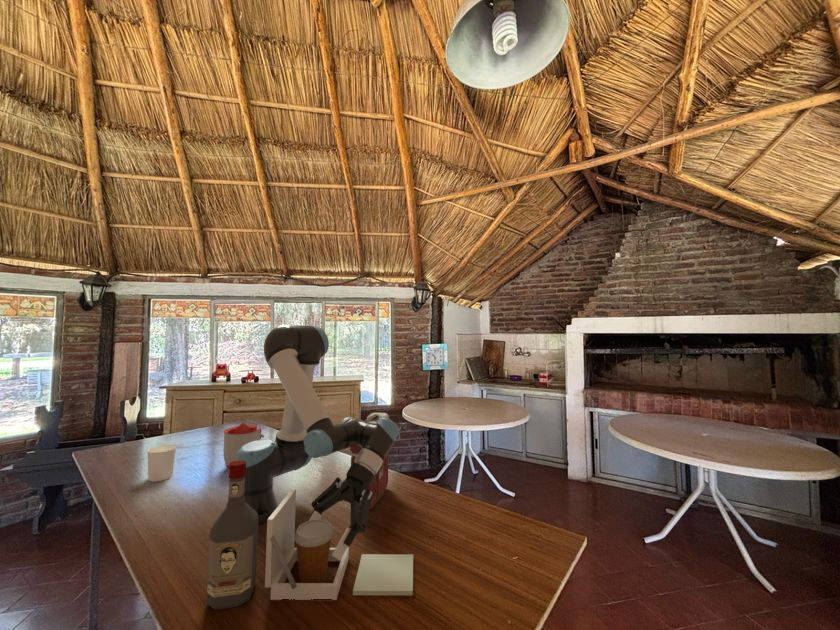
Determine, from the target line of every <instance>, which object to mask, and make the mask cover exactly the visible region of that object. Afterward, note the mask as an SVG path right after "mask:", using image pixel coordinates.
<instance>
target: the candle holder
mask: <svg viewBox="0 0 840 630" xmlns="http://www.w3.org/2000/svg"><path fill="white" fill-rule="evenodd" d="M176 451H177V446H176V445H160V446H155V447H151V448H149V449H148V450H147V481H148V482H151V481H152V482H154V483H155V482H163V481H166V480H168V479H171V478H172V477H173V474H174V467H175V466H174V465H175V456H176Z"/></svg>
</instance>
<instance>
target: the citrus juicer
mask: <svg viewBox="0 0 840 630" xmlns="http://www.w3.org/2000/svg"><path fill="white" fill-rule="evenodd" d="M262 438H265V435H264V434H262V428H261V427H260V428H258V429H257V425H253V424H251V425H250V424H248V425H247V424H246V423H245V422H242V423H240V424H239V425H238V426H231V427H229V428H226V429H224V430H223V460H224V464H225V467H226V469H227V470H228V471H229V463H231V462H233V461H236V457H237V452H238V450H239V449H240V448H241V447H242V446H243V445H245V444H247V443H250V442H253V441H257V440H262Z"/></svg>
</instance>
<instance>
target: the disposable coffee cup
mask: <svg viewBox="0 0 840 630" xmlns="http://www.w3.org/2000/svg"><path fill="white" fill-rule="evenodd" d="M334 532H335V531H334V528H333V525H332V523H331V522H330V521H329V520H326V519H320V520H319V519H317V520H311V521H305V522H303V523H301V524H299V525H298V527H297V528H296V529H295V535H294V542H295V545H296V547H297V556H298V561H297V565H298V566H297V567H298V574H299V575H298V576H299V583H324V582H323V581H324V580H326V577H327V571H328V564H329V561H328V558H329V551H330V548H331V543H332V542H331V541H332V538H333V535H334Z"/></svg>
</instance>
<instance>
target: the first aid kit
mask: <svg viewBox="0 0 840 630" xmlns="http://www.w3.org/2000/svg"><path fill="white" fill-rule="evenodd" d="M380 418H388V419H390V416H389V414H388V413H386V412H372V413H370V414H369V415H367V417H366V419H365V420H364V421H367V422H370V423H374V424H377V422H378V421H379V419H380ZM349 448H350V450H349V451H350V453H352V454H351V458H350V466H351V465H352V464H353V463H355V462H354V460H355V458H356V457H357V455H358V453H359V452H360V450H361V449H362V447H361V446H359V445H355V446H352V447H349ZM389 452H390V451H389ZM389 452H388V454H387V455H386V457H385V460H384V461H383V463H382V465H381V467H380V469H379V470H378V472H377V474H375V475H374V477H375V478H374V480H373V482H372V483H371V485H370V487H369V488H368V489H369V490H370V491H371V492H372V493H373V494H374V495H373V498H372V500H371V503H370V509H369V510H371V509H373V507H374V506H375V505H376V503H378V502H379V500H380V499H381V498H382V497H383V495H384V492H385V491H386V489H387V487H388V482H389V458H390V457H389ZM361 501H362V497H361V498H360V507H361ZM360 507H359V510H360Z"/></svg>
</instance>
